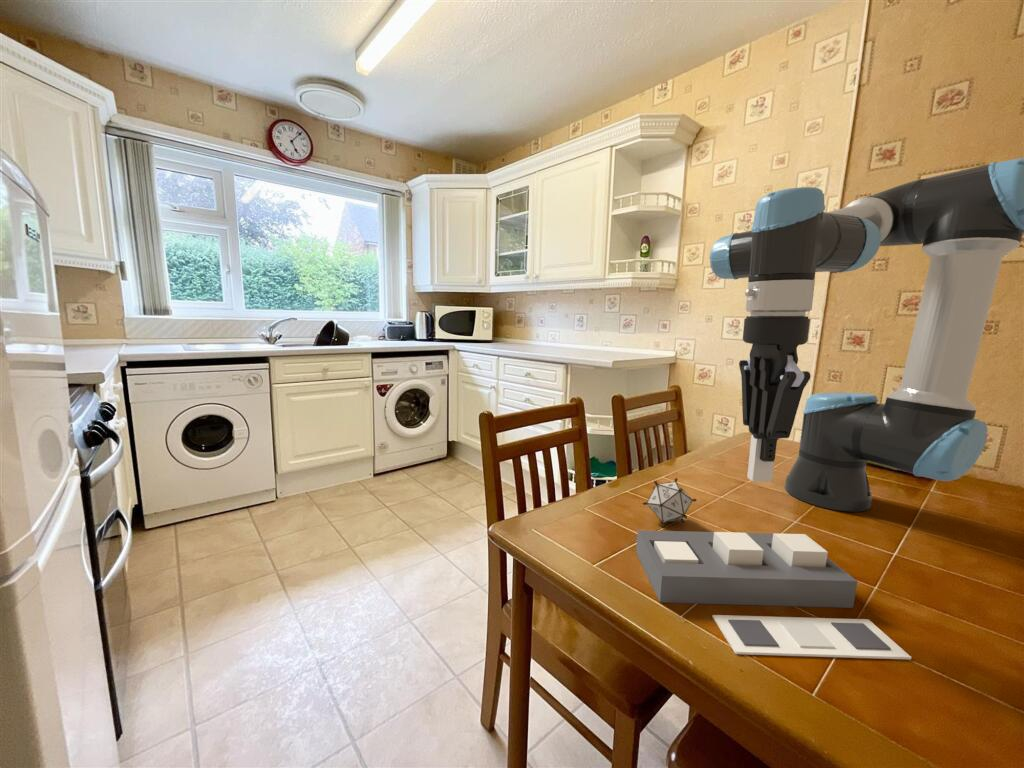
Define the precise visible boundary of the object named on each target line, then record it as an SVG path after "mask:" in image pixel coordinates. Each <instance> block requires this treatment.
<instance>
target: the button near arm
mask: <svg viewBox="0 0 1024 768" xmlns="http://www.w3.org/2000/svg"><path fill="white" fill-rule="evenodd" d="M772 534H773V540H772V547H771V549H772V550H773V551H774V552H775V553H777V554H778V555H779V556H780V557H781V558H782V559H783V560H784V561H785V562H786V563H787V564H788V565H789V566H796V567H826V561H827V557H828V554H829V552H828V551H827V550H826V549H825V548H823V547H822V546H821V545H820V544H818V543H817V542H816V541H814V540H813V539H812V538H811V537H809V536H808V535H807V534H806V533H778V532H777V533H772Z"/></svg>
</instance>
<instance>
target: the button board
mask: <svg viewBox="0 0 1024 768" xmlns="http://www.w3.org/2000/svg"><path fill="white" fill-rule="evenodd" d="M714 532H715V531H689V530H688V531H685V530H684V531H683V530H682V531H681V530H678V531H677V530H676V531H675V530H648V529H647V530H645V529H644V530H642V529H641V530H639V529H638V530H637V534H636V547H635V553H636V556H637V558H638V560H639V562H640V564H641V566H642V568H643V570H644V573H645V574H646V576H647V578H648V581H649V582H650V585H651V587H652V589H653V591H654V593H655V595H656V597H657V599H658V602H659V603H661V604H662V603H665V604H667V603H668V604H670V603H671V604H696V605H697V604H701V605H702V604H703V605H704V604H705V605H706V604H707V605H738V606H739V605H741V606H770V607H771V606H774V607H775V606H776V607H805V608H807V607H811V608H841V609H842V608H843V609H845V608H846V609H853V608H854V603H855V598H856V592H857V586H858V580H856V579H855V578H854V577H853V576H851V574H849V573H848V572H847V571H845V569H843V568H841V567H840V566H839V565H838V564H836V563H835V562H834V561H833V560H832V559H830V558H829V557H828V556H827V561H826V567H796V566H789V565H788V564H787V563H786V562H785V561H784V560H783V559H782V558H781V557H780V556H779V555H778V554H777V553H775V552H774V551H773V550H772V549H771V547H772V540H773V533H765V532H760V533H759V532H745V533H746V534H747V535H748V536H749V537H751V538H752V539H753V540H754V541H755V542H756V543H757V544H758V545H759V546H760V547H761V548H762V549H763V550H764V551H763V559H762V566H758V565H726V564H725V563H724V562H723V560H722V559H721V558H720V557H719V556H718V554H717V553H716V552H715V551H714V549H713V548H712V547H713V538H714ZM654 541H670V542H686V543H687V545H688V546H689V547H690V549H691V550H692V551H693V553H694V554H695V556H696V557H697V558H698V560H699V562H698V564H682V563H662V562H661V560H660V558H659V557H658V555H657V553H656V551H655V550H654Z"/></svg>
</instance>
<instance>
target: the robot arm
mask: <svg viewBox="0 0 1024 768" xmlns="http://www.w3.org/2000/svg"><path fill="white" fill-rule="evenodd" d="M754 210H755V212H754V217H753V224H752V227H751V230H748V231H743V232H734V233H731V234H729V235H726V236H725V235H724V236H722V237H720V238H718V239H717V240H716V241H715V242H714V243H713V244H712V247H711V249H710V253H709V260H710V261H709V262H710V268H711V271H712V273H713V274H714V275H715V276H716V277H717V278H719V279H723V280H739V279H746V278H748V279H747V280H748V281H747V289H746V290H745V291H744V295H745V296H746V303H745V304H746V305H745V311H746V312H748V313H749V312H750V316H749V315H747V316H745V318H744V321H743V331H742V341H743V342H744V343H746V344H751V349H750V352H749V358H748V359H746V360H743V359H741V360H740V361H739V363H738V367H739V370H740V375H741V405H742V407H741V408H742V411H741V412H742V424H743V426H747V427H748V432H749V433H750V434H751V436H750V445H749V455H748V456H749V457H748V465H747V468H748V469H747V475H746V476H747V477H746V478H747V479H749V480H750V481H751V482H760V483H761V482H770V483H771V482H773V474H774V466H775V460H776V453H777V445H778V444H777V442H778V440H779V439H789V438H790V436H791V433H792V428H793V426H794V423H795V419H796V416H797V412H798V409H799V406H800V402H801V399H802V396H803V393H804V392H803V391H804V389H805V387H806V386H807V385H808V383H809V381H810V379H811V372H809V370H808V371H807V370H805V371H804V370H803V371H802V370H801V369H800V368H799V366H798V363H799V357H798V349H797V348H798V347H799V346H802V345H805V344H806V343H807V342H809V341H808V340H809V333H810V332H809V331H810V323H811V318H810V316H806V314H807V312H809V313H810V311H812V310H813V301H814V292H815V283H816V279H815V278H816V273H823V272H824V273H825V272H826V273H827V272H829V273H832V274H835V273H836V274H837V273H846V272H852V271H856V270H859V269H860V268H863V267H864V266H865V265H867V264H868V263H870V262H871V260H873V259H874V257H875V256H876V254H877V253H878V251H879V249H880V247H891V246H892V247H893V246H894V247H895V246H912V245H922V246H921V251H922V252H923V253H924V254H925V255H926V256H927V257H929V259H930V261H929V265H928V270H927V273H926V278H925V281H924V282H925V283H924V286H923V289H922V294H921V298H920V303H919V307H918V311H917V315H916V319H915V323H914V328H913V333H912V336H911V340H910V343H909V344H910V345H909V347H908V348H909V349H908V352H907V356H906V361H905V364H904V365H905V367H904V370H903V373H902V377H901V378H902V379H901V383H900V387H899V388H898V389H897V390H895V391H893V392H892V393H890V394H888V395H886V398H885V403H884V404H883V403H878V402H879V399H878V396H877V395H875V394H871V393H865V392H819V393H817V392H816V393H814V394H811V395H810V396H808V397H807V399H806V402H805V405H804V411H803V412H802V414H803V416H802V425H801V426H802V427H801V434H800V442H799V450H798V454H797V455H798V456H797V458H796V460H795V462H794V463H793V466H792V467H791V469H790V471H789V473H788V475H787V476H786V478H785V482H784V490H785V491H786V492H787V493H788V494H789V495H790V496H792V497H794V498H796V499H798V500H799V501H802V502H805V503H808V504H811V505H814V506H817V507H820V508H824V509H829V510H834V511H842V512H849V513H850V512H853V513H854V512H857V513H858V512H865V511H868V510H870V509H871V507H872V499H873V496H872V492H871V487H870V483H869V478H868V475H867V470H866V468H867V462H870V463H873V464H877V465H880V466H884V467H888V468H891V469H895V470H898V471H903V472H906V473H910V474H913V475H914V476H915V477H923V478H927V479H928V478H929V479H932V480H936V481H940V482H951V481H955V480H957V479H960V478H962V477H963V476H964V475H966V474H967V473H968V472H969V471H970V470H971V469H972V467H973V466H974V465H975V464H976V463H977V461H978V460H979V458H980V456H981V454H982V452H983V450H984V448H985V446H986V443H987V439H988V434H987V433H988V431H989V429H988V426H987V424H986V423H985V422H983V421H982V420H980V419H979V418H975V417H976V412H977V408H976V407H975V405H974V404H973V403H972V402H971V401H970V400H969V399H968V398H967V397H968V391H969V387H970V384H971V380H972V377H973V373H974V370H975V364H976V361H977V357H978V354H979V350H980V346H981V342H982V337H983V334H984V331H985V327H986V324H987V323H986V322H987V318H988V315H989V311H990V307H991V304H992V299H993V297H994V292H995V288H996V284H997V281H998V276H999V273H1000V268H1001V265H1002V261H1003V259H1004V257H1005V256H1006V255H1009V253H1011V252H1013V251H1015V250H1016V249H1018V248H1020V246H1021V242H1022V238H1023V235H1024V157H1020V158H1013V159H1009V160H1003V161H992V162H990V163H988V164H984V165H980V166H979V165H978V166H974V167H971V168H970V167H969V168H967V169H962V170H957V171H953V172H948V173H943V174H939V175H936V176H931V177H926V178H922V179H917V180H912V181H908V182H906V183H903V184H899V185H897V186H894V187H891V188H889V189H885V190H883V191H880V192H878V193H874V194H872V195H869V196H866V197H861V198H858V199H855V200H853V201H851V202H850V203H848V204H847V205H846V206H845V207H843V208H839V209H838V208H837V209H834V210H829V211H825V210H826V205H825V194H824V193H823V190H822V189H821V188H818V187H811V186H801V187H793V188H786V189H781V190H777V191H773V192H770V193H767V194H766V195H763V196H762V197H760V198H759V200H758V201H757V203H756V205H755V209H754Z"/></svg>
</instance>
